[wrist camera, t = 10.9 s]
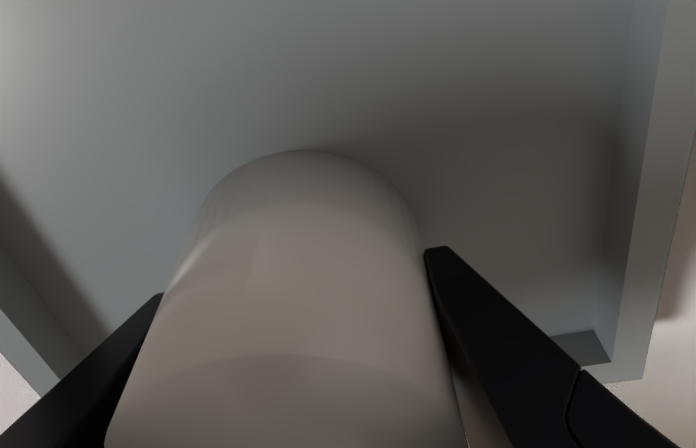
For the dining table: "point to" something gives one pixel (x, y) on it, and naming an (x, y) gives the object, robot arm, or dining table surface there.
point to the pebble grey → (295, 321)
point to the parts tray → (345, 148)
